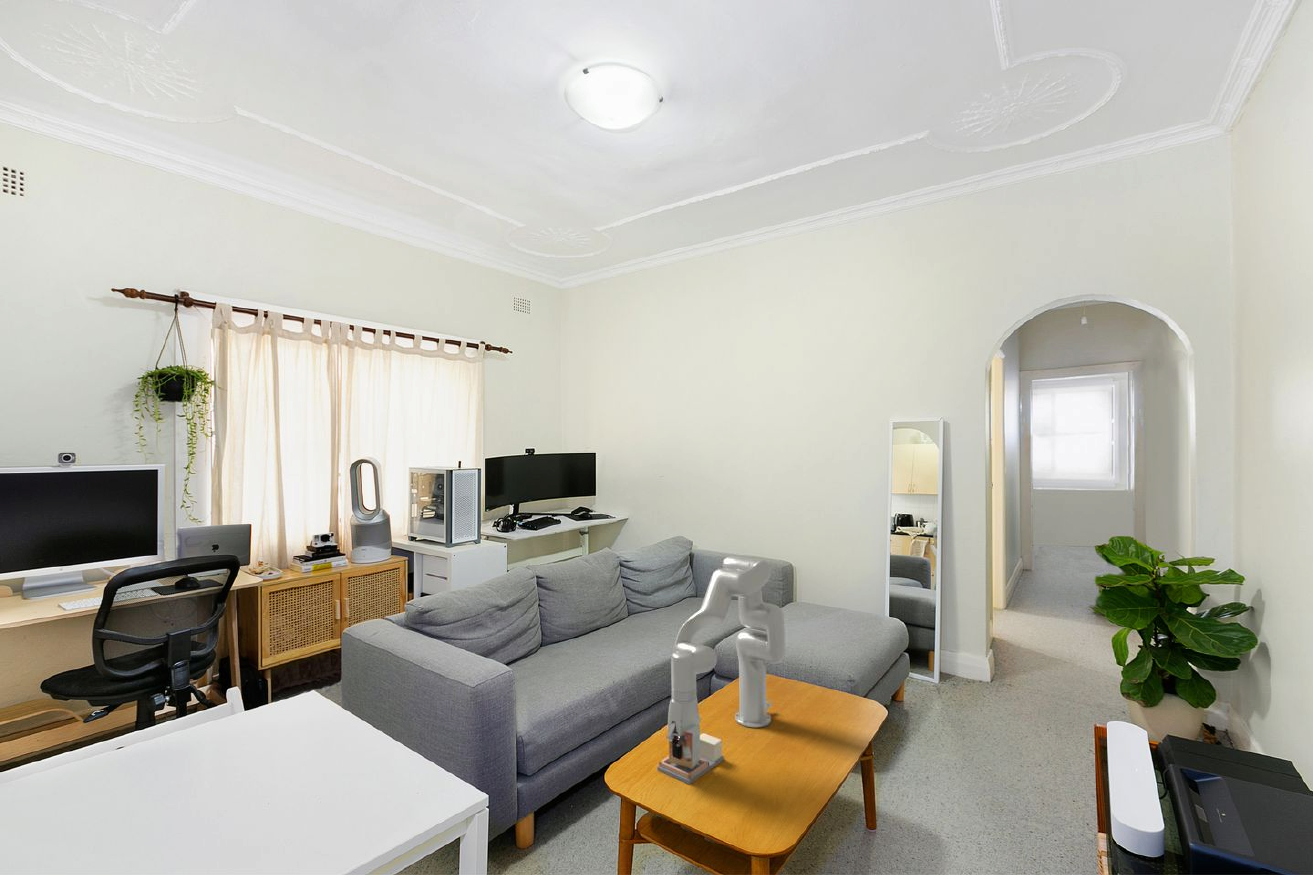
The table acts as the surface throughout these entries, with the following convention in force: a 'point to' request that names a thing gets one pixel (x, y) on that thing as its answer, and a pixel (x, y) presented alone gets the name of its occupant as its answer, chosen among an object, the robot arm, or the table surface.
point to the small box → (688, 748)
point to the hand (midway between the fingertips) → (684, 752)
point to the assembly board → (708, 760)
